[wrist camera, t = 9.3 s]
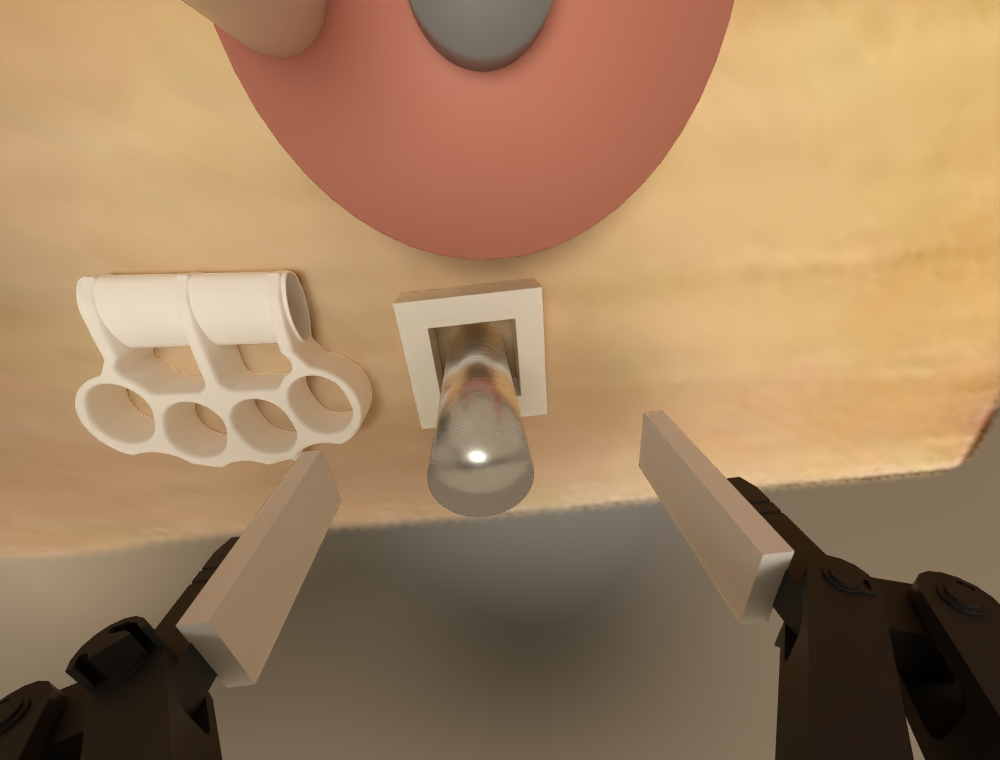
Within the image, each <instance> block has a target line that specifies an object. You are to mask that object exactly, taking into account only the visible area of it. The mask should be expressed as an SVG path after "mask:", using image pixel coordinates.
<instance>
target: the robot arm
mask: <svg viewBox="0 0 1000 760" xmlns="http://www.w3.org/2000/svg"><path fill="white" fill-rule="evenodd" d="M639 467H640V469H641V470H642V472H643V474H644V475H645V477H646V478H647V480H648V481H649V483H650V484H651V486H652V488H653V489H654V491H655V492H656V494H657V495H658V497H659V499H660V500H661V502H662V503H663V505H664V506H665V508H666V509H667V511H668V513H669V514H670V516H671V517H672V519H673V520H674V522H675V524H676V525H677V527H678V528H679V530H680V531H681V533H682V534H683V536H684V538H685V539H686V541H687V542H688V544H689V545H690V547H691V548H692V550H693V552H694V553H695V555H696V556H697V558H698V559H699V561H700V563H701V564H702V566H703V567H704V568H705V570H706V572H707V573H708V575H709V576H710V578H711V580H712V581H713V583H714V584H715V586H716V588H717V589H718V590H719V592H720V594H721V595H722V597H723V598H724V600H725V602H726V603H727V605H728V606H729V608H730V609H731V611H732V612H733V614H734V616H735V617H736V619H737V620H738V622H739V623H740V624H747V623H755V622H763V621H768V619H769V616H770V614H771V611H772V608H773V607H774V608H775V610H776V611H777V613H778V614H779V615H780V617H781V618H782V619H783V621H784V623H783V625H782V627H781V630H780V632H779V635H778V637H777V639H776V642H775V646H777V647H780V668H779V689H778V709H777V710H778V711H777V733H776V752H775V760H914V759H913V753H912V748H911V743H910V738H909V732H908V727H907V722H906V718H907V720H908V723H909V725H910V727H911V729H912V732H913V734H914V736H915V738H916V740H917V742H918V745H919V747H920V749H921V752H922V753H923V756H924V758H925V760H1000V604H999V603H998V602H997V601H996V600H995V599H994V598H993V597H991V596H990V595H988V594H987V593H986V592H984V591H982V590H981V589H980V588H978V587H977V586H975V585H973V584H971V583H968V582H966V581H964V580H962V579H960V578H958V577H955V576H952V575H948V574H945V573H941V572H932V571H927V572H923V573H920V574H919V575H918V577H917V578H916V580H915V582H914V583H913V584H909V583H902V582H896V581H890V580H884V579H878V578H873V577H870V576H869V575H868V574H867V573H865V572H864V571H863V570H861V569H859V568H858V567H857V566H855V565H854V564H851V563H849V562H847V561H845V560H843V559H840V558H836V557H832V556H828V555H826V554H825V553H824V552H823V551H822V550H821V549H820V548H819V547H818V546H817V545H815V544H814V543H813V542H812V541H811V540H810V539H809V538H808V537H807V536H806V535H805V534H804V533H803V532H802V531H801V530H800V529H799V528H798V527H797V526H796V525H795V524H794V523H793V522H792V521H791V520H790V519H789V518H788V517H787V516H786V515H785V514H784V513H781V510H780V509H779V508H778V507H777V506H775V504H774V503H772V502H770V500H769V499H768V498H767V497H766V496H765V495H764V494H763V493H762V492H761V491H760V490H759V489H758V488H757V487H756V486H754V485H752V484H751V483H749V482H747V481H746V480H744V479H742V478H741V477H735V478H725V477H724V475H723V474H722V473H721V472H720V471H719V470H718V469H717V468H716V467H715V466H714V465H713V464H712V463H711V462H710V461H709V460H708V458H707V457H706V456H705V455H704V454H703V453H702V452H701V451H700V450H699V449H698V448H697V447H696V446H695V445H694V444H693V443H692V441H691V440H690V439H689V438H688V437H687V436H686V435H685V434H684V433H683V432H682V431H681V430H680V429H679V428H678V427H677V425H676V424H675V423H674V422H673V421H672V420H671V419H670V418H669V417H668V416H667V415H666V414H665V413H664V412H663V411H662V410H661V411H653V412H644V415H643V426H642V437H641V447H640V458H639ZM340 502H341V499H340V497H339V494H338V491H337V489H336V486H335V484H334V481H333V478H332V476H331V473H330V471H329V468H328V465H327V463H326V460H325V458H324V455H323V452H322V450H313V451H304V452H302V453H301V454H300V456H299V457H298V458H297V460H296V461H295V462H294V464H293V465H292V467H291V468H290V469H289V471H288V472H287V473H286V475H285V476H284V478H283V479H282V480H281V482H280V483H279V484H278V486H277V487H276V489H275V490H274V491H273V493H272V494H271V495H270V497H269V498H268V500H267V501H266V502H265V504H264V505H263V506H262V508H261V509H260V510H259V512H258V513H257V515H256V516H255V517H254V519H253V520H252V521H251V523H250V524H249V526H248V527H247V528H246V530H245V531H244V532H243V534H242V535H241V537H233V538H231V539H229V540H228V541H227V542H226V543H225V544H224V545H222V546H221V547H220V548H219V549H218V550H217V551H216V552H214V554H213V555H212V556H211V557H210V559H209V560H208V561H207V563H206V564H205V565H204V567H203V568H202V571H200V572H199V573H198V574H197V576H196V577H195V578H194V580H193V581H192V584H191V585H189V586H188V587H187V589H186V590H185V591H184V592H183V594H182V595H181V597H180V598H179V599H178V600H177V602H176V603H175V604H174V606H173V607H172V608H171V609H170V611H169V612H168V613H167V615H166V616H165V617H164V618H163V620H162V621H161V622H160V624H159V625H158V626H157V628H156V629H155V630H154V629H153V628H152V626H151V625H150V624H149V623H148V622H147V621H146V620H145V618H142V617H138V616H134V617H129V618H125V619H122V620H120V621H118V622H116V623H114V624H112V625H110V626H108V627H106V628H105V629H103V630H102V631H100V632H99V633H97V634H96V635H94V636H93V637H92V638H91V639H90V640H89V641H88V642H87V643H85V644H84V645H83V646H82V647H81V648H80V649H79V650H78V652H77V653H76V654H75V655H74V657H73V658H72V659H71V660H70V662H69V665H68V667H67V669H66V671H65V672H66V673H67V674H68V675H70V676H71V677H72V678H73V679H74V680H75V681H77V682H78V683H75V684H73V685H70V686H68V687H66V688H63V689H61V690H59V689H57V688H56V687H55V686H54V685H52V684H51V683H50V682H49V681H37V682H34V683H31V684H28V685H25V686H23V687H21V688H20V689H18V690H16V691H14V692H12V693H11V694H9V695H7V696H6V697H4V698H3V699H2V700H0V760H222V755H221V749H220V742H219V736H218V730H217V723H216V717H215V710H214V704H213V699H212V697H211V695H210V693H209V692H208V690H209V689H210V687H211V685H212V683H213V681H214V680H215V678H216V676H217V677H218V678H219V679H220V680H221V682H222V683H223V684H224V685H225V686H226V687H236V686H244V685H252V684H255V683H256V681H257V679H258V677H259V675H260V673H261V671H262V668H263V667H264V664H265V662H266V660H267V658H268V656H269V654H270V652H271V649H272V647H273V645H274V643H275V641H276V639H277V637H278V635H279V632H280V630H281V628H282V626H283V624H284V622H285V620H286V617H287V615H288V613H289V611H290V609H291V607H292V605H293V603H294V600H295V598H296V596H297V594H298V592H299V590H300V588H301V586H302V583H303V581H304V579H305V577H306V575H307V573H308V570H309V568H310V566H311V564H312V562H313V560H314V558H315V556H316V553H317V551H318V549H319V547H320V545H321V543H322V541H323V538H324V536H325V534H326V532H327V530H328V528H329V526H330V524H331V522H332V519H333V517H334V515H335V513H336V511H337V509H338V507H339V504H340ZM905 716H906V717H905Z"/></svg>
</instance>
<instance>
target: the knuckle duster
mask: <svg viewBox="0 0 1000 760" xmlns="http://www.w3.org/2000/svg"><path fill="white" fill-rule="evenodd" d="M76 298H77V304H78V308H79V311H80V313H81V316H82V318H83V320H84V321H85V323H86V325H87V327H88V329H89V332H90V334H91V336H92V338H93V340H94V341H95V343H96V345H97V347H98V349H99V351H100V353H101V354H102V356H103V358H104V364H103V368H102V371H101V374H99V375H97V376H95V377H92V378H91V379H89V380H87V381H86V382H85V383H83V384H82V386H81V387H80V388H79V390H78V391H77V394H76V397H75V408H76V412H77V415H78V417H79V419H80V421H81V422H82V424H83V425H84V426H85V428H86V429H87V430H88V431H89V432H90V433H91V434H92V435H93V436H94V437H96V438H97V439H98V440H100V441H101V442H103V443H104V444H106V445H107V446H109V447H111V448H113V449H115V450H118V451H120V452H123V453H126V454H130V455H136V454H140V453H145V452H159V453H166V454H170V455H174V456H176V457H179V458H182V459H184V460H186V461H188V462H190V463H192V464H199V465H206V466H214V467H221V468H223V469H224V467H225V466H226V465H228V464H230V463H233V462H238V461H255V462H260V463H264V464H267V465H270V464H274V463H277V462H281V461H285V460H288V459H291V460H294V461H296V460H297V458H298V457H299V456H300V454H301V453H302V452H303V449H304V448H306V447H308V446H311V445H314V444H319V443H335V444H342V443H344V442H346V441H348V440H349V439H350V438H352V437H353V436H354V435H355V434H356V432H357V431H358V430H359V428H360V426H361V424H362V422H363V420H364V418H365V416H366V414H367V412H368V410H369V408H370V406H371V403H372V397H373V393H372V387H371V384H370V381H369V379H368V377H367V375H366V374H365V373H364V371H363V370H362V369H361V368H360V367H359V366H358V365H357V364H356V363H354V362H353V361H351V360H350V359H348V358H346V357H344V356H342V355H340V354H337V353H333V352H328V351H326V350H325V349H324V348H323V347H322V346H321V345H319V344H318V343H317V342H316V341H315V340H314V339H313V337H312V334H311V321H310V313H309V309H308V305H307V301H306V297H305V293H304V290H303V288H302V285H301V283H300V281H299V279H298V277H297V276H296V274H295V273H294V272H293V271H288V270H277V271H266V272H221V273H201V272H189V273H175V274H130V275H112V274H98V275H88V276H84V277H82V278H80V279H79V281H78V283H77V288H76ZM288 303H290V305H289V304H288ZM265 343H278V345H279V348H280V352H281V353H282V354H283V355H284V356H285V357H287V358H288V359H289V360H290V362H291V364H292V370H291V371H290V372H273V373H254V372H252V371H250V370H248V369H247V368H246V367H245V366H244V364H243V361H242V358H241V355H240V353H239V350H238V347H237V344H265ZM179 346H190V348H191V350H192V352H193V355H194V357H195V359H196V362H197V364H198V367H199V369H200V371H201V374H202V375H195V376H187V375H184V374H182V373H180V372H179V371H177V370H176V369H175V368H173V367H172V366H170V365H168V364H166V363H164V362H162V361H160V360H159V359H158V358H157V357H156V356H155V354H154V347H179ZM306 376H321V377H324V378H327V379H329V380H331V381H333V382H334V383H336V384H337V385H338V386H339V387H340V388H341V389H342V390H343V392H344V393H345V395H346V397H347V398H348V400H349V402H350V404H351V406H352V410H351V411H348V412H334V411H331V410H329V409H326V408H325V407H323V406H322V405H321V404H319V403H318V401H317V400H316V399H315V397H314V396H313V394H312V393H311V391H310V389H309V387H308V385H307V381H306ZM127 388H128V389H130V390H132V391H134V392H135V393H137V394H138V395H139V396H141V397H142V398H143V399H144V400H145V401H146V402H147V403H148V405H149V406H150V408H151V410H152V412H153V416H154V418H151V417H149V416H147V415H145V414H143V413H141V412H140V411H139V410H138V409H136V408H135V407H134V405H133V404H132V403H131V401H130V400H129V397H128V394H127ZM255 399H261V400H265V401H268V402H271V403H273V404H275V405H276V406H278V407H279V408H280V409H282V410H283V411H284V412H285V414H286V415H287V416H288V418H289V419H290V421H291V422H292V424H293V425H294V427H295V429H296V431H285V430H281V429H278V428H276V427H274V426H273V425H271V424H270V423H269V422H268V421H267V420H266V419H265V418H264V416H263V415H262V413H261V412H260V411H259V409H258V408H257V406H256V403H255ZM195 403H197V404H201V405H203V406H206V407H207V408H209V409H211V410H212V411H214V412H215V413H216V414H217V415H218V416H219V417H220V418H221V419H222V420H223V422H224V424H225V426H226V430H227V434H222V433H218V432H215V431H213V430H211V429H209V428H208V427H206V426H205V425H204V424H203V423H202V422H201V421H200V420H199V418H198V416H197V414H196V411H195Z"/></svg>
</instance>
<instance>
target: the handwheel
mask: <svg viewBox="0 0 1000 760" xmlns="http://www.w3.org/2000/svg"><path fill="white" fill-rule="evenodd" d="M182 1H184V2H185V3H187V4H188V5H189V6H191V7H192V8H194V9H195V10H196V11H198V12H199V13H200V14H202V15H203V16H205V17H206V18H207V19H209V20H210V21H211V22H213V23H214V26H215V29H216V31H217V33H218V35H219V38H220V40H221V42H222V44H223V46H224V49H225V51H226V53H227V55H228V58H229V60H230V62H231V64H232V67H233V69H234V71H235V73H236V75H237V76H238V78H239V80H240V82H241V84H242V85H243V87H244V89H245V91H246V92H247V94H248V96H249V98H250V100H251V101H252V103H253V105H254V107H255V108H256V110H257V112H258V113H259V115H260V116H261V117H262V119H263V120H264V122H265V123H266V125H267V126H268V128H269V129H270V130H271V132H272V133H273V135H274V136H275V138H276V139H277V140H278V142H279V143H280V145H281V146H282V147H283V148H284V149H285V151H286V152H287V153H288V154H289V155H290V156H291V158H292V159H293V160H294V161H295V162H296V164H297V165H298V166H299V167H300V168H301V169H302V171H303V172H304V173H305V174H306V175H307V176H308V177H309V178H310V179H311V180H312V181H313V182H314V183H315V184H316V185H318V186H319V187H320V188H321V189H322V190H323V191H324V192H325V193H326V194H327V195H328V196H329V197H330V198H331V199H332V200H334V201H335V202H336V203H338V204H339V205H340V206H342V207H343V208H344V209H346V210H347V211H348V212H349V213H351V214H352V215H353V216H355V217H356V218H357V219H359V220H361V221H362V222H364V223H366V224H367V225H369V226H371V227H372V228H374V229H376V230H377V231H379V232H381V233H382V234H384V235H386V236H388V237H391V238H393V239H395V240H398V241H400V242H402V243H404V244H407V245H409V246H411V247H414V248H418V249H421V250H424V251H428V252H431V253H434V254H438V255H443V256H450V257H456V258H463V259H501V258H509V257H518V256H522V255H526V254H530V253H534V252H537V251H541V250H545V249H547V248H550V247H552V246H555V245H557V244H560V243H562V242H564V241H567V240H569V239H571V238H573V237H575V236H577V235H578V234H580V233H582V232H584V231H585V230H587V229H589V228H591V227H592V226H594V225H595V224H597V223H598V222H599V221H601V220H602V219H604V218H605V217H606V216H608V215H609V214H610V213H612V212H613V211H614V210H616V209H617V208H618V207H619V206H620V205H621V204H622V203H624V202H625V201H626V200H627V199H628V198H629V197H630V196H631V195H632V194H633V193H634V192H635V191H636V190H637V189H638V188H639V187H640V186H641V185H642V184H643V183H644V182H645V181H646V179H647V178H648V177H649V176H650V175H651V173H652V172H653V171H654V170H655V169H656V168H657V166H658V165H659V164H660V163H661V162H662V160H663V159H664V157H665V156H666V155H667V153H668V152H669V150H670V149H671V147H672V146H673V144H674V143H675V141H676V140H677V138H678V137H679V135H680V134H681V133H682V131H683V129H684V127H685V125H686V124H687V122H688V120H689V118H690V116H691V114H692V113H693V111H694V109H695V107H696V105H697V103H698V102H699V100H700V98H701V95H702V93H703V91H704V88H705V86H706V84H707V81H708V79H709V77H710V74H711V72H712V70H713V67H714V65H715V63H716V60H717V57H718V54H719V51H720V48H721V45H722V42H723V39H724V36H725V33H726V30H727V26H728V23H729V20H730V16H731V12H732V8H733V3H734V0H182Z"/></svg>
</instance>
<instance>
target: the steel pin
mask: <svg viewBox="0 0 1000 760" xmlns="http://www.w3.org/2000/svg"><path fill="white" fill-rule="evenodd" d="M533 478H534V469H533V464H532V460H531V456H530V452H529V447H528V443H527V439H526V435H525V431H524V427H523V423H522V418H521V414H520V410H519V406H518V402H517V398H516V394H515V389H514V385H513V381H512V377H511V373H510V369H509V364H508V360H507V356H506V352H505V348H504V344H503V340H502V337H501V335H500V334H499V332H498V331H497V330H496V329H495V328H494V327H493V326H491V325H489V324H487V323H485V322H480V323H472V324H463V325H461V326H460V327H458V328H457V329H456V330H455V331H454V333H453V334H452V336H451V338H450V342H449V347H448V353H447V359H446V365H445V371H444V377H443V383H442V389H441V396H440V402H439V408H438V414H437V420H436V426H435V432H434V438H433V444H432V450H431V456H430V462H429V468H428V476H427V479H428V485H429V488H430V491H431V493H432V495H433V496H434V497H435V499H436V500H437V501H438V502H439V503H440V504H441V505H443V506H444V507H445V508H447V509H449V510H450V511H453V512H455V513H458V514H461V515H465V516H471V517H486V516H492V515H496V514H500V513H502V512H505V511H507V510H509V509H511V508H513V507H514V506H516V505H517V504H518V503H519V502H521V501H522V500H523V498H524V497H525V496H526V495H527V493H528V492H529V490H530V488H531V486H532V483H533Z"/></svg>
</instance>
